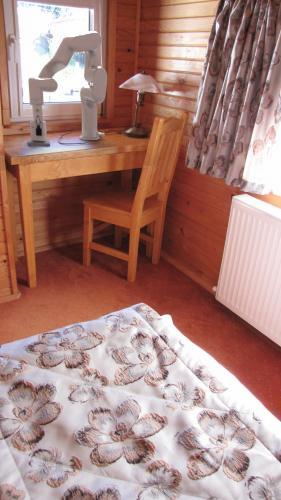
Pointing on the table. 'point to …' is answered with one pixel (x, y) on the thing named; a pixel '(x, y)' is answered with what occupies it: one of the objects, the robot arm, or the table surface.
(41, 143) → the grey board
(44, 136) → the small box
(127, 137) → the table surface
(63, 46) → the robot arm
